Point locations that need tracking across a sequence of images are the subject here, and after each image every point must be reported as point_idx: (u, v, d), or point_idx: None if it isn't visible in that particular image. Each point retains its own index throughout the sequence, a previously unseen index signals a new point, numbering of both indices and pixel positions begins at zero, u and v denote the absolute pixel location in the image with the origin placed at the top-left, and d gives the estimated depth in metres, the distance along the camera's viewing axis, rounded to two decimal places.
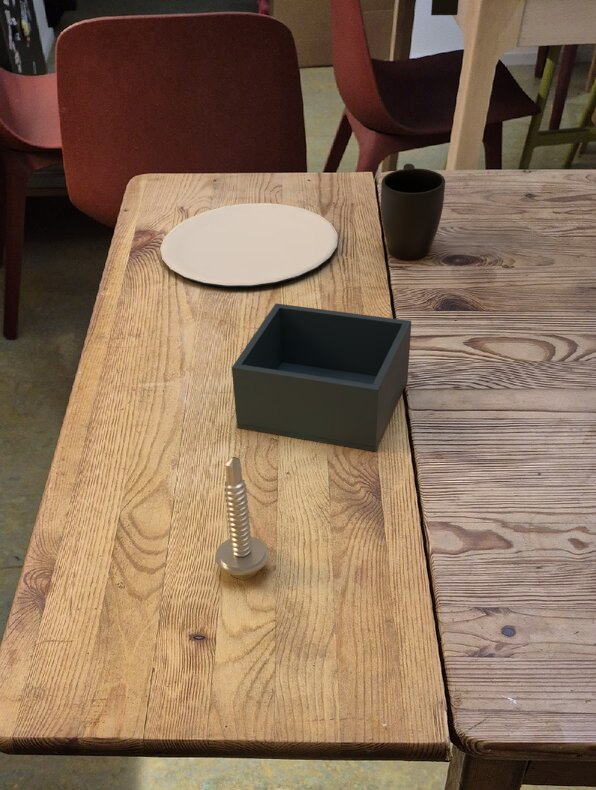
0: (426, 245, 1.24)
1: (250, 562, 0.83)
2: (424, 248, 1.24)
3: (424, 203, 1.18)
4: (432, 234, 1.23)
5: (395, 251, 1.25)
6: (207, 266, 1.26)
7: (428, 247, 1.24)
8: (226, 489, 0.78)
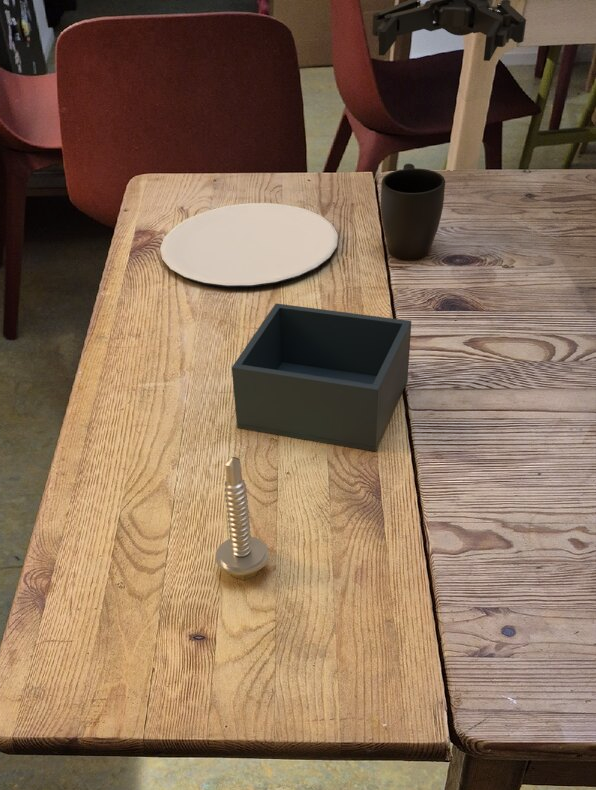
0: (426, 245, 1.24)
1: (250, 562, 0.83)
2: (424, 248, 1.24)
3: (424, 203, 1.18)
4: (432, 234, 1.23)
5: (395, 251, 1.25)
6: (207, 266, 1.26)
7: (428, 247, 1.24)
8: (226, 489, 0.78)
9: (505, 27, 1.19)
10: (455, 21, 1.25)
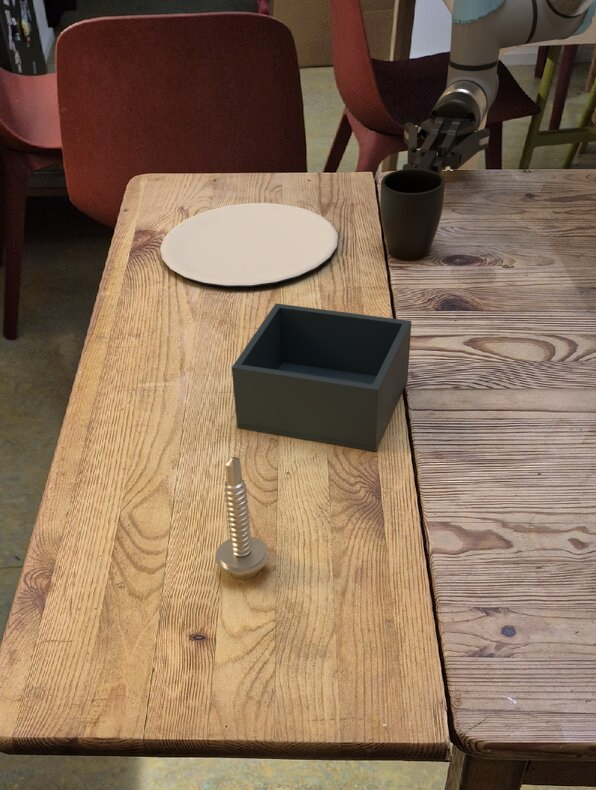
0: (426, 245, 1.24)
1: (250, 562, 0.83)
2: (424, 248, 1.24)
3: (424, 203, 1.18)
4: (432, 234, 1.23)
5: (395, 251, 1.25)
6: (207, 266, 1.26)
7: (428, 247, 1.24)
8: (226, 489, 0.78)
9: (440, 157, 1.30)
10: None
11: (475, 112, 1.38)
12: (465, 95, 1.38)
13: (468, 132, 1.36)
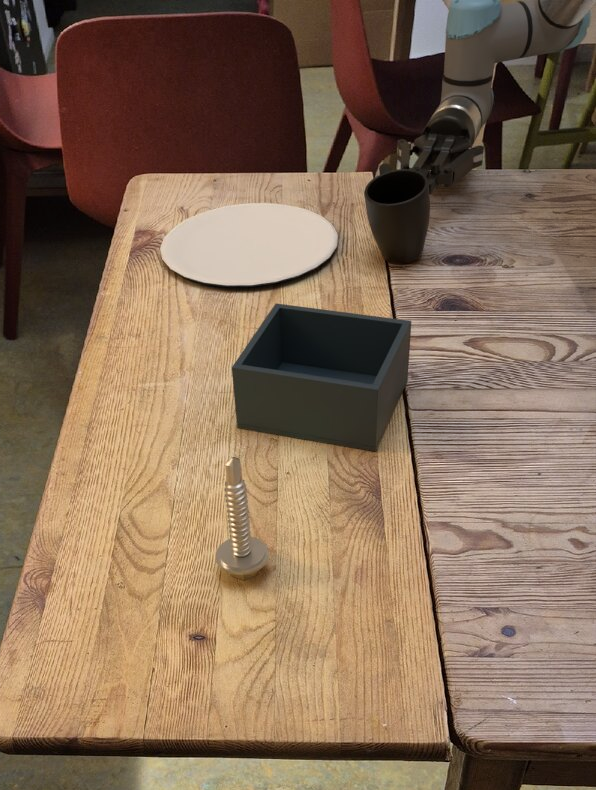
0: (420, 245, 1.22)
1: (250, 562, 0.83)
2: (419, 248, 1.23)
3: (413, 209, 1.17)
4: (425, 233, 1.21)
5: (391, 257, 1.24)
6: (207, 266, 1.26)
7: (422, 245, 1.23)
8: (226, 489, 0.78)
9: (433, 175, 1.28)
10: None
11: (469, 128, 1.35)
12: (459, 111, 1.36)
13: (462, 149, 1.33)
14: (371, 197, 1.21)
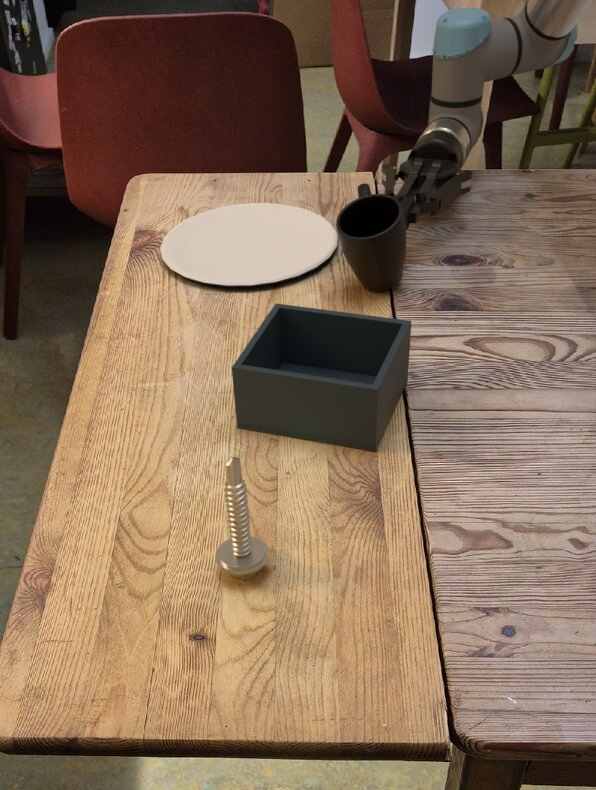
0: (397, 274, 1.17)
1: (250, 562, 0.83)
2: (396, 277, 1.18)
3: (384, 243, 1.12)
4: (401, 263, 1.16)
5: (366, 285, 1.19)
6: (207, 266, 1.26)
7: (400, 273, 1.18)
8: (226, 489, 0.78)
9: (419, 203, 1.22)
10: None
11: (457, 153, 1.29)
12: (446, 134, 1.30)
13: (449, 174, 1.27)
14: (345, 223, 1.16)
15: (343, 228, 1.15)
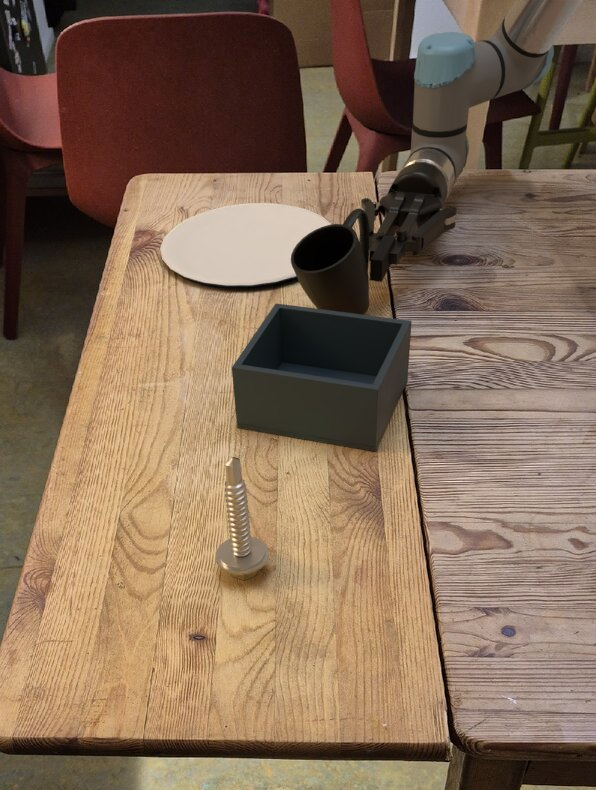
0: None
1: (250, 562, 0.83)
2: None
3: (317, 282, 1.07)
4: (347, 305, 1.10)
5: None
6: (207, 266, 1.26)
7: None
8: (226, 489, 0.78)
9: (400, 242, 1.14)
10: None
11: (441, 186, 1.22)
12: (429, 167, 1.22)
13: (432, 210, 1.20)
14: (317, 245, 1.11)
15: (311, 249, 1.11)
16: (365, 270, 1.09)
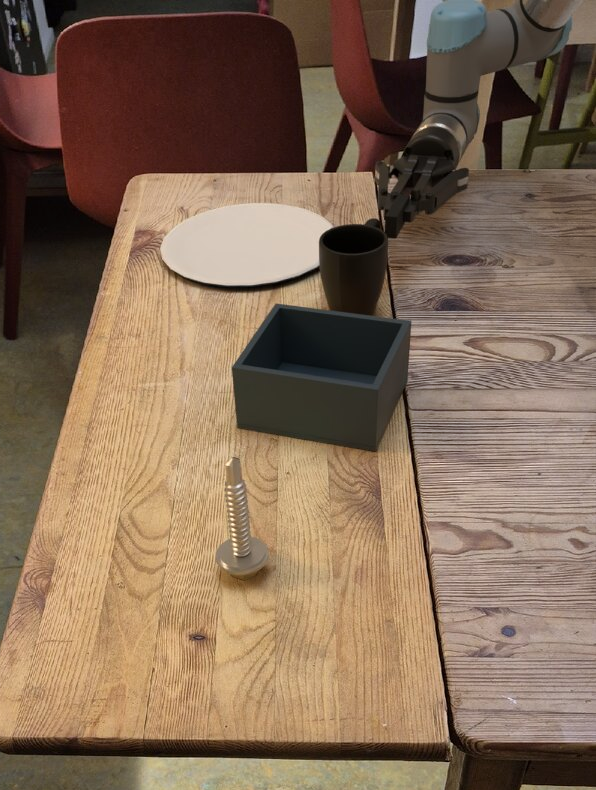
0: (360, 310, 1.13)
1: (250, 562, 0.83)
2: (359, 313, 1.13)
3: (350, 266, 1.08)
4: (366, 300, 1.12)
5: (330, 309, 1.15)
6: (207, 266, 1.26)
7: (365, 312, 1.14)
8: (226, 489, 0.78)
9: (414, 201, 1.17)
10: None
11: (453, 149, 1.25)
12: (442, 130, 1.25)
13: (445, 172, 1.23)
14: (336, 242, 1.13)
15: (330, 244, 1.13)
16: None
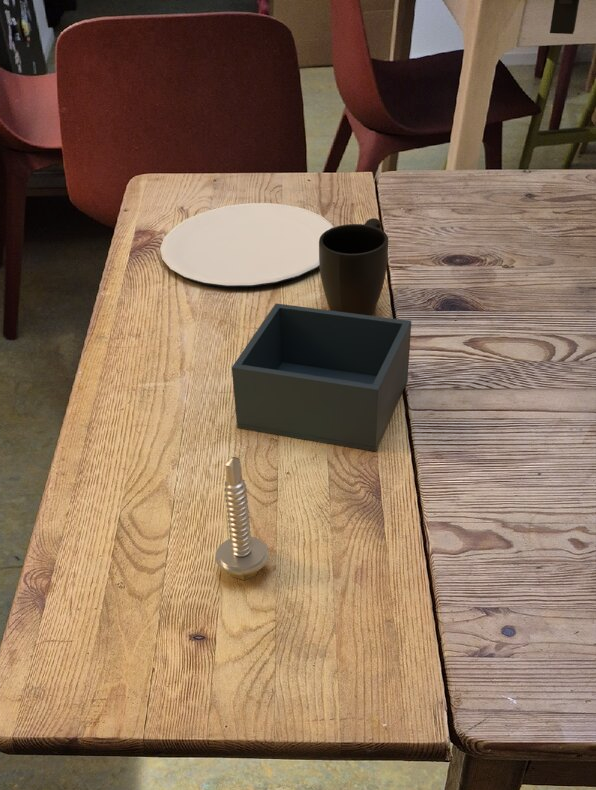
0: (360, 310, 1.13)
1: (250, 562, 0.83)
2: (359, 313, 1.13)
3: (350, 266, 1.08)
4: (366, 300, 1.12)
5: (330, 309, 1.15)
6: (207, 266, 1.26)
7: (365, 312, 1.14)
8: (226, 489, 0.78)
9: None
10: None
11: None
12: None
13: None
14: (336, 242, 1.13)
15: (330, 244, 1.13)
16: None
